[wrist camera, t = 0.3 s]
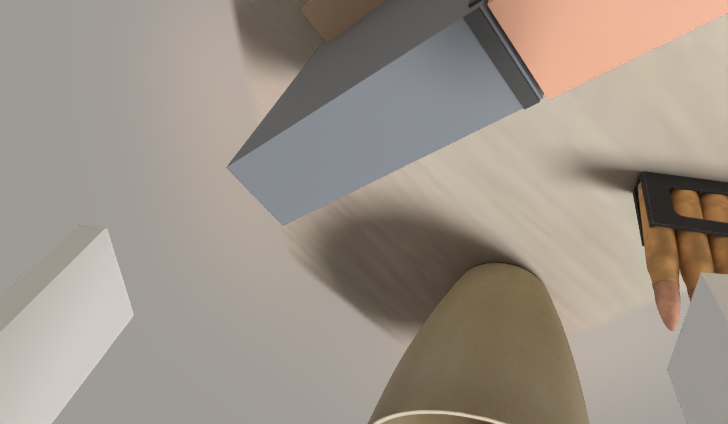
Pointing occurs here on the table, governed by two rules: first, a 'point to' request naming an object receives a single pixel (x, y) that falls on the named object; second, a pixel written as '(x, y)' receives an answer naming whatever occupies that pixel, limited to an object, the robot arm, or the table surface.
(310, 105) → the ticket block
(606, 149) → the table surface
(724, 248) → the ammunition clip
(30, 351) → the robot arm
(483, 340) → the plant pot
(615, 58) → the stub
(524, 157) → the table surface
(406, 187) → the table surface
